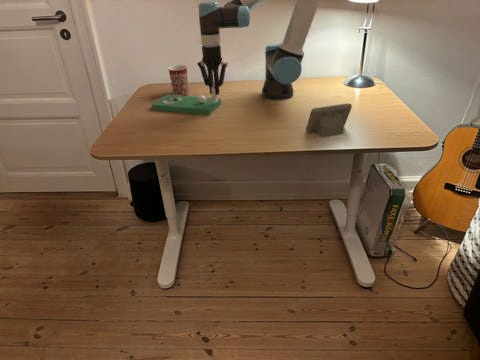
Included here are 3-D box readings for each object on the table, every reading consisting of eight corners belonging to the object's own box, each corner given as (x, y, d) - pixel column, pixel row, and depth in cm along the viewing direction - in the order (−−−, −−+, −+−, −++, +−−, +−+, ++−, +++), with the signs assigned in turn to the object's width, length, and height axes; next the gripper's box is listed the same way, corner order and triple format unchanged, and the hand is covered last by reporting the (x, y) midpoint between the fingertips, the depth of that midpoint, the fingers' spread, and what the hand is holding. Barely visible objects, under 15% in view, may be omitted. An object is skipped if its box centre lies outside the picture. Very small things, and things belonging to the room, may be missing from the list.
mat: (221, 104, 160) (221, 98, 159) (209, 115, 149) (208, 109, 148) (167, 99, 169) (166, 94, 167) (152, 109, 158) (151, 104, 156)
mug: (189, 97, 169) (186, 69, 162) (170, 98, 169) (166, 70, 162) (191, 89, 180) (188, 62, 173) (174, 89, 180) (170, 63, 173)
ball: (207, 101, 156) (207, 94, 154) (204, 104, 153) (203, 97, 151) (200, 101, 157) (199, 93, 155) (197, 104, 154) (196, 96, 152)
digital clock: (344, 125, 136) (348, 99, 130) (352, 135, 128) (356, 108, 122) (303, 128, 135) (305, 102, 129) (308, 138, 127) (311, 111, 122)
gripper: (229, 43, 141) (232, 99, 154) (200, 42, 145) (205, 97, 158) (222, 47, 135) (226, 105, 148) (192, 46, 139) (198, 103, 152)
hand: (215, 101), depth 153 cm, fingers closed
